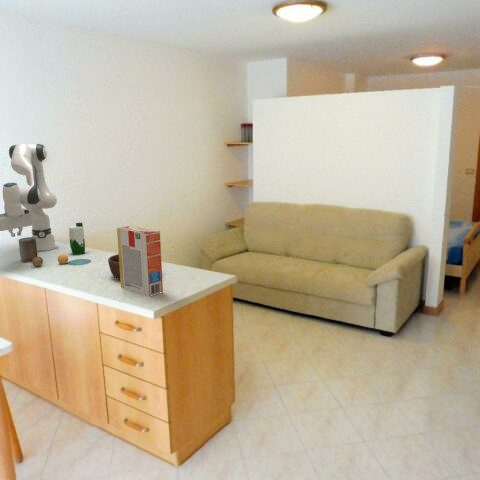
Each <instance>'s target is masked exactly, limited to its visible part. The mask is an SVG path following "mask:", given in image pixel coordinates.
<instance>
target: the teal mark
mask: <svg viewBox="0 0 480 480" xmlns="http://www.w3.org/2000/svg"><path fill="white" fill-rule="evenodd" d="M91 262H92V259H88V258H79V259H72V260H68V262H67V263H66V265H68V266H82V265H87V264H90V263H91Z"/></svg>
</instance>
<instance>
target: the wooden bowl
mask: <svg viewBox="0 0 480 480" xmlns="http://www.w3.org/2000/svg"><path fill="white" fill-rule="evenodd" d="M107 262H108V266H109V270H110V273H111V275H112V276H113V277H114V278H115V279H116V280H120V266H119V253H118V254H113V255H111V256H110V257H108V260H107Z"/></svg>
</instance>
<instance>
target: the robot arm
mask: <svg viewBox="0 0 480 480" xmlns="http://www.w3.org/2000/svg"><path fill="white" fill-rule="evenodd" d="M8 155H9V158H10V159H11V160H10V166H11V168H12V170H13V171H14V172H15V173H16V174H19V175H22V176H25V180H26V184H27V185H28V187H20V186H19V185H18V183H17V182H6V183H4V184H2V185H3V186H2V200H3V202H4V205H3V207H4V208H3V209H4V213H0V232H3V231H8V232H9V234H10V236H11V238H14V237H16V235H17V236H18V237H19V236H22V232H23V229H24V228H26V227H31V226H32V228H31V234H32V236H31V237H34V238H36V246H37V252H45V251H50V250H53V249H58V248H59V245H57V244H56V240H55V236H54V235H53V234H52V229H51V228H52V227H51V223H50V217H49V215H48V214H46V213H45V212H44V210H43V209H46V210H48V209H53V208H54V207H55V206H56V205H57V202H58V201H57V200H58V199H57V196H56V195H55V193H53V192H51V190H50V188H49V187H48V185H47V183H46V177H45V173H44V172H45V171H44V166H43V161H45V160H46V158H47V155H48V153H47V149H46V146H44V145H43V144H42V143H37V144H35V143H18V144H13V145H11V146H10V147H9V148H8ZM22 206H23V207H24V208H23V207H22ZM15 229H18V231H17V232H16V233H14V230H15Z"/></svg>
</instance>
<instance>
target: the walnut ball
mask: <svg viewBox="0 0 480 480" xmlns="http://www.w3.org/2000/svg"><path fill="white" fill-rule="evenodd" d="M31 264H32V265H33V266H34V267H37V268H39V267H41V266H42V265H43V264H44V260H43V258H42V257H41V256H39V255H38V256H37V257H34V258H33V259H32V262H31Z"/></svg>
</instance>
